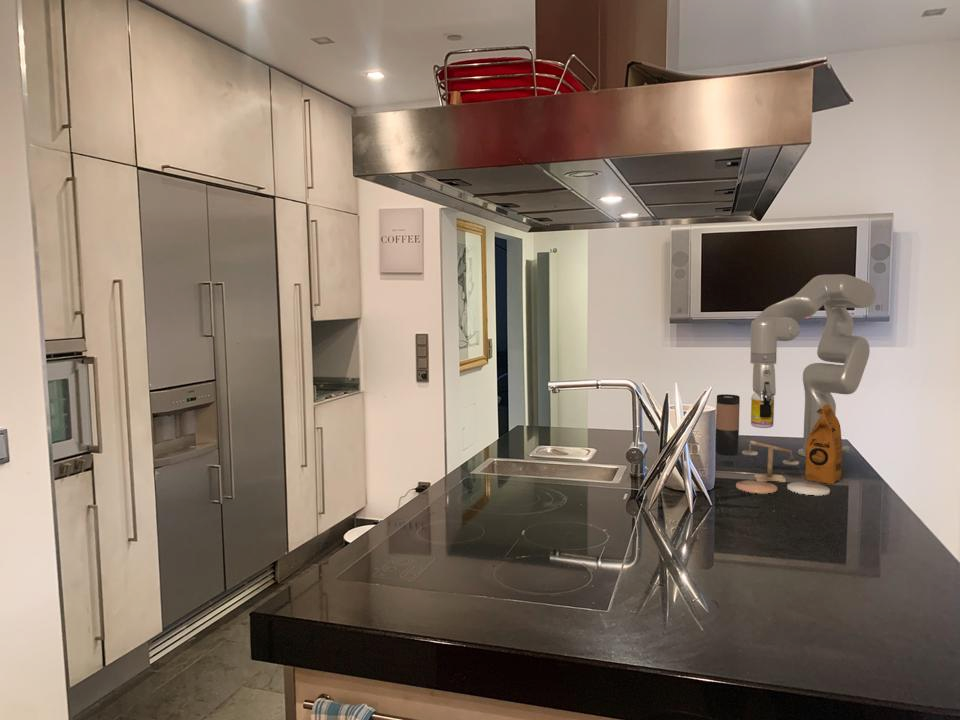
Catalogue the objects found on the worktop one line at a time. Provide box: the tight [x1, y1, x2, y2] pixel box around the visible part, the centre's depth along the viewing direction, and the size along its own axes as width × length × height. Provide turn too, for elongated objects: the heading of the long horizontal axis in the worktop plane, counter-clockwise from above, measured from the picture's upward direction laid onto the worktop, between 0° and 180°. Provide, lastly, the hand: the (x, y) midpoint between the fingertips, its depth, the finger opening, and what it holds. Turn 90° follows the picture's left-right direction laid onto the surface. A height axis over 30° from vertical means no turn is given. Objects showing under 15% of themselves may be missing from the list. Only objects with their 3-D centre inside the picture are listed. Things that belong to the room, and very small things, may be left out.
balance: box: [741, 440, 800, 483], centre depth 211 cm, size 16×4×12 cm, turn 82°
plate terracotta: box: [735, 480, 778, 495], centre depth 203 cm, size 11×11×1 cm
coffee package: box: [804, 404, 843, 485], centre depth 212 cm, size 10×12×22 cm
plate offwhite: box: [786, 481, 831, 497], centre depth 201 cm, size 11×11×1 cm
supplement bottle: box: [750, 388, 775, 429], centre depth 223 cm, size 7×7×13 cm
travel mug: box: [715, 394, 741, 456], centre depth 245 cm, size 8×8×20 cm
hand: (762, 414), depth 223 cm, fingers closed on supplement bottle, 6 cm apart
